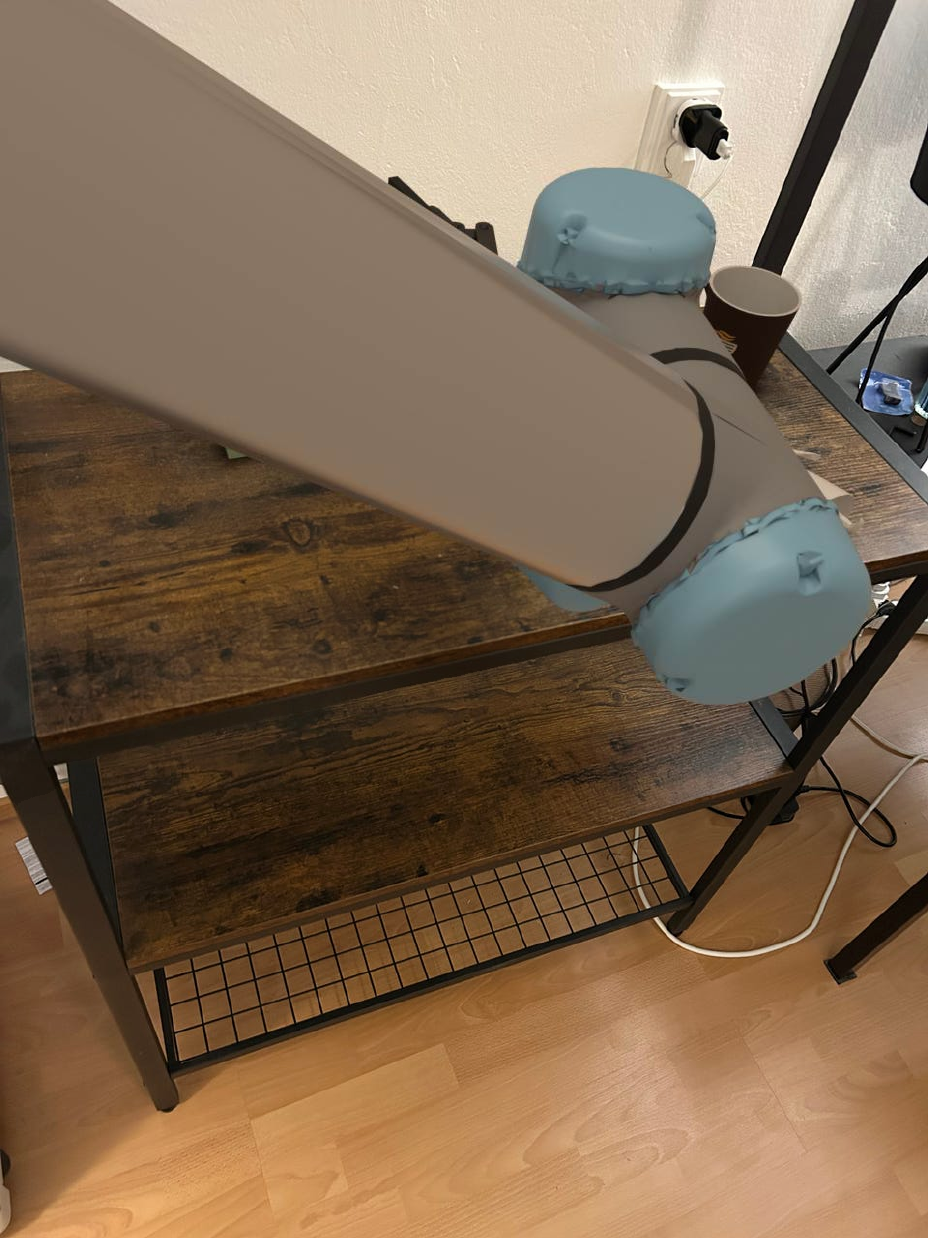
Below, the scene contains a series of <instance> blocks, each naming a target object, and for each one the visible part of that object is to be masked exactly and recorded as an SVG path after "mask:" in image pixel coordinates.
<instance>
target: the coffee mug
mask: <svg viewBox="0 0 928 1238" xmlns="http://www.w3.org/2000/svg"><path fill="white" fill-rule="evenodd" d="M703 290H704V293H705V297H706V298H705V302H704V307H703V310H702V313H703V314H704V316H705V317H706V318H707V320H708V321H709V323H710V324H711V326H712V327H713V329H714V330H715V332H716V333H717V335H718V336H719V338H720V339H721V341H722V342H723V344H724V345H725V347H726V348H727V350H728V351H729V353H730V354H731V356H732V357H733V359H734V360H735V362H736V363H737V365H738V366H739V368H740V369H741V371H742V372H743V374H744V376H745V379H746V381H747V382H748V384H749V385H750V387H751V389H752V390H753V391H754V389H755V388H756V386H757V385H758V383H759V381H760V379H761V378H762V376H763V374H764V372H765V370H766V369H767V367H768V365H769V363H770V361H771V360H772V358H773V356H774V354H775V352H776V351H777V349H778V347H779V346H780V344H781V342H782V340H783V338H784V337H785V335H786V333H787V331H788V330H789V328H790V326H791V324H792V322H793V320H794V319H795V318H796V315H797V313H798V312H799V310H800V308H801V306H802V304H803V297H802V294H801V292H800V291H799V289H798V288H797V287H796V286H795V285H794V284H793V283H792V282H790V281H789V280H788V279H787V278H785V277H783V276H782V275H780V274H777V273H775V272H773V271H770V270H767V269H764V268H761V267H756V266H750V265H740V264H739V265H736V264H735V265H728V266H723V267H720V268H719V269H716V270H715V271H714V272H713V273H711V277H710V280H709V283H707V286H705V287H704V289H703Z"/></svg>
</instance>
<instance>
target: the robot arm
mask: <svg viewBox="0 0 928 1238" xmlns="http://www.w3.org/2000/svg"><path fill="white" fill-rule="evenodd" d="M715 220H716V219H715V218H714V215H713V213H712V211H711V210H710V209H709V207H708V206H707V204H706V203H705V202H704V201H703V200H702V199H701V198H700V197H699V196H697V195H696V194H695V193H694V192H692V190H690V189H688V188H686V187H684V186H683V185H681V184H679V183H677V182H675V181H674V180H670V179H668V178H666V177H664V176H661V175H657V174H653V173H650V172H646V171H643V170H638V169H633V168H627V167H604V166H603V167H596V166H595V167H587V168H582V169H577V170H573V171H570V172H566V173H565V174H563V175H560V176H559V177H557V178H555V179H554V180H552V181H551V182H550V183H548V184H546V186H545V187H544V188H543V189H542V190H541V192H540V193H539V194H538V196H537V198H536V200H535V201H534V204H533V206H532V211H531V215H530V219H529V223H528V226H527V231H526V234H525V235H526V236H525V239H524V243H523V248H522V251H521V256H520V259H519V260H518V261H517V263H516V265H515V266H514V265H513V264H512V263H510V262H509V261H507V260H505V259H504V258H502V257H501V256H499V251H498V246H497V239H496V235H495V229H494V226H493V224H491V223H490V222H487V221H478V222H476V223H475V224H474V228H466V225H465V224H464V223H462V222H460V221H453V220H452V219H451V218H450V217H448V215H446V214H445V213H444V212H443V211H442V210H441V209H440V208H439V207H437V206H435V205H433V204H431V205H429V204H428V203H427V202H426V201H424V200H423V199H422V197H421V196H419V195H418V193H416V192H415V190H413V189H412V188H411V187H410V186H409V185H408V184H407V183H406V182H405V181H404V180H403V179H402V178H401V177H400V176H398V175H395V176H389V177H388V178H387V182H386V181H385V180H383V179H382V178H380V177H378V176H377V175H376V174H374V173H373V172H372V171H370V170H368V169H367V168H365V167H363V166H362V165H360V164H359V163H357V162H356V161H354V160H353V159H351V158H350V157H348V156H347V155H345V154H343V153H342V152H340V151H339V150H337V149H336V148H335V147H333V146H332V145H331V144H328V143H327V142H325V141H324V140H322V139H320V138H319V137H318V136H317V135H315V134H313V133H311V132H310V131H309V130H307V129H305V127H302V126H301V125H299V124H298V123H296V122H295V121H293V120H291V119H290V118H288V117H287V116H286V115H284V114H283V113H281V112H280V111H278V110H276V109H275V108H274V107H272V106H270V105H269V104H267V103H266V102H264V101H263V100H261V99H259V98H258V97H256V96H255V95H253V94H252V93H250V92H249V91H247V90H246V89H244V88H243V87H241V86H240V85H238V84H237V83H235V82H234V81H232V80H231V79H229V78H228V77H226V76H224V74H222V73H220V72H219V71H217V70H216V69H214V68H212V67H211V66H210V65H208V64H206V63H204V62H203V61H202V60H200V59H198V58H197V57H195V56H194V55H192V54H191V53H189V52H187V50H184V48H181V47H180V46H179V45H177V44H176V43H174V42H172V41H171V40H169V38H166V37H165V36H164V35H161V34H160V33H159V32H157V31H155V30H154V29H153V28H151V27H149V26H148V25H146V24H145V23H143V22H142V21H141V20H139V19H137V18H136V17H134V16H133V15H131V14H130V13H128V12H127V11H126V10H124V9H123V8H121V7H120V6H118V5H116V4H114V3H113V2H111V1H110V0H0V358H2V359H5V360H7V361H10V362H12V363H14V364H18V365H20V366H23V367H24V368H27V369H30V370H32V371H34V372H37V373H40V374H42V375H43V376H46V377H48V378H52V379H54V380H57V381H60V382H62V383H64V384H66V385H69V386H71V387H74V388H76V389H79V390H82V391H84V392H86V393H89V394H91V395H94V396H96V397H99V398H101V399H104V400H106V401H109V402H112V403H114V404H117V405H119V406H122V407H124V408H126V409H128V410H131V411H133V412H137V413H139V414H141V415H144V416H146V417H149V418H151V419H154V420H156V421H159V422H162V423H163V424H166V425H167V426H168V425H169V426H171V427H174V428H176V429H179V430H181V431H182V432H183V431H184V432H186V433H189V434H190V435H193V436H195V437H199V438H201V439H203V440H206V441H208V442H211V443H213V444H215V445H218V446H221V447H223V448H225V449H226V448H228V449H230V450H233V451H235V452H238V453H240V454H243V455H245V456H247V457H248V458H250V459H253V460H256V461H258V462H261V463H263V464H265V465H267V466H270V467H273V468H275V469H277V470H280V471H282V472H285V473H287V474H290V475H293V476H295V477H298V478H300V479H302V480H305V481H307V482H310V483H313V484H314V485H317V486H320V487H322V488H325V489H327V490H330V491H333V492H334V493H337V494H340V495H342V496H345V497H347V498H350V499H352V500H355V501H357V502H358V503H359V502H360V503H361V504H364V505H367V506H370V507H372V508H375V509H376V510H378V511H379V510H380V511H382V512H384V513H387V514H389V515H391V516H394V517H397V518H400V519H402V520H404V521H407V522H409V523H411V524H415V525H416V526H419V527H421V528H424V529H426V530H429V531H432V532H434V533H436V534H439V535H442V536H444V537H446V538H449V539H451V540H455V541H456V542H459V543H461V544H464V545H466V546H469V547H471V548H473V549H476V550H478V551H481V552H483V553H486V554H487V555H488V554H489V555H491V556H493V557H495V558H498V559H501V560H503V561H505V562H508V563H511V564H512V565H513V567H514V568H515V569H516V570H518V571H521V572H522V573H523V574H524V576H526V577H527V579H528V580H530V582H531V583H532V584H533V585H534V586H535V587H536V588H537V589H538V590H539V591H540V592H541V594H543V595H544V597H545V598H546V599H547V600H548V601H549V602H550V603H552V604H553V605H555V606H556V607H557V608H559V609H561V610H564V611H568V612H573V613H586V612H591V611H597V610H599V609H601V608H603V607H605V606H608V605H613V606H615V607H616V608H617V609H619V610H620V611H621V612H622V613H623V614H624V615H625V616H626V618H627V619H628V621H629V623H630V625H631V628H632V629H631V630H630V638H631V640H632V644H633V645H634V647H635V648H637V649H638V650H640V651H642V652H643V654H644V656H645V658H646V660H647V662H648V664H649V666H650V668H651V669H652V672H653V674H654V675H655V676H656V678H657V679H658V680H659V682H660V683H661V684H662V685H663V686H664V687H666V689H667V690H668V691H669V692H670V693H671V694H672V695H673V696H676V697H677V698H679V699H682V700H683V701H688V702H691V703H694V704H700V705H706V706H707V705H708V706H726V705H736V704H743V703H747V702H752V701H756V700H757V701H758V700H760V699H764V698H766V697H769V696H772V695H774V694H777V693H780V692H782V691H784V690H787V689H789V688H791V687H793V686H795V685H797V684H799V683H800V682H802V681H805V680H806V679H807V678H809V677H811V675H812V674H813V673H816V671H818V670H819V669H821V668H822V667H823V666H824V665H826V664H827V663H829V662H831V661H832V660H834V659H835V658H836V657H838V656H839V655H840V654H841V653H842V652H843V651H844V650H845V649H846V648H847V647H848V646H849V644H850V643H851V642H852V641H853V640H854V639H855V637H856V636H857V634H858V633H859V631H860V630H861V628H862V626H863V625H864V622H865V620H866V618H867V615H868V613H869V611H870V607H871V604H872V603H871V602H872V581H871V577H870V572H869V571H868V568H867V566H866V564H865V561H864V560H863V559H862V557H861V555H860V553H859V551H858V549H857V547H856V545H855V543H854V542H853V539H852V538H851V536H850V534H849V531H847V530H846V528H845V526H844V524H843V523H842V521H841V518H840V516H839V508H838V507H837V505H836V504H835V503H834V502H833V501H832V500H829V499H828V500H827V499H826V497H825V496H824V494H823V493H822V492H821V490H820V489H819V487H818V486H817V484H816V483H815V481H814V480H813V478H812V477H811V475H810V474H809V472H808V471H807V470H808V469H807V468H806V466H805V465H804V464H803V462H802V461H801V459H800V457H799V456H797V455H796V453H795V452H794V450H795V449H794V448H792V446H791V445H790V443H789V442H788V440H787V439H786V438H785V435H784V434H783V433H782V431H781V430H780V428H779V426H777V424H776V423H775V421H774V420H773V418H772V417H771V415H770V413H769V412H768V411H767V410H766V408H765V407H764V405H763V403H762V402H761V400H760V399H759V398H758V396H757V395H756V393H755V392H754V390H752V389H751V387H750V385H749V384H748V382H747V381H746V379H745V376H744V374H743V372H742V371H741V369H740V368H739V366H738V365H737V363H736V362H735V360H734V359H733V357H732V356H731V354H730V353H729V351H728V350H727V348H726V347H725V345H724V344H723V342H722V341H721V339H720V338H719V336H718V335H717V333H716V332H715V330H714V329H713V327H712V326H711V324H710V323H709V321H708V320H707V318H706V317H705V316H704V314H703V310H702V309H701V304H700V301H701V296H702V293H703V290H704V287H705V286H707V283H709V282H710V277H711V275H712V272H711V265H712V261H713V256H714V252H715V248H716V244H717V234H718V232H717V227H716V226H717V223H716V221H715ZM793 449H794V450H793ZM806 469H807V470H806Z"/></svg>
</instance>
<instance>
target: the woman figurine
mask: <svg viewBox="0 0 928 1238" xmlns="http://www.w3.org/2000/svg"><path fill="white" fill-rule="evenodd" d="M792 449H793V450H794V452H795V453H796V455H797V456H798V457H801V458H803V459H806V460H811V461H814V462H817V461H818V460H819V459H821V457H822V455H821V454H818V453H815V452H812V451H801V450H799V449H798V450H797V449H794V448H792ZM806 470H807V471H808V472H809V474H810V475H811V477H812V478H813V480H814V481H815V483H816V484H817V486H818V487H819V489H820V490H821V492H822V493H823V494H824V496H825V497H826V499H827V500H828V499H829V500H832V501H833V502H834V503H835V504H836V505H837V507H838V508H839V516H840V518H841V521H842V523H843V524H844V526H845V528H846V530H847V532H848V533H850V534H852V535H854V536H856V537H857V536H859V535H860V533H861V531H860V530H861V529H862V528H863V527H864V525H865V522H866V521H865V520H864V518H863V517H860V518H859V520H858V521H856V522H852V521H851V520H850V519H848V516H849V515H850V514H851V513H852V511H853V510H854V508H855V496H854V495H852V494H851V493H849V492H848V491H845V490H844V489H842V488H841V487H839V486H837V485H835V484H834V483H832V482H830V481H829V480H827V479H825V478H823V477H821V476H820V475H818V474H816V473H814V472H813V471H812V470H811V471H810V470H808V469H807V468H806Z"/></svg>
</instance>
